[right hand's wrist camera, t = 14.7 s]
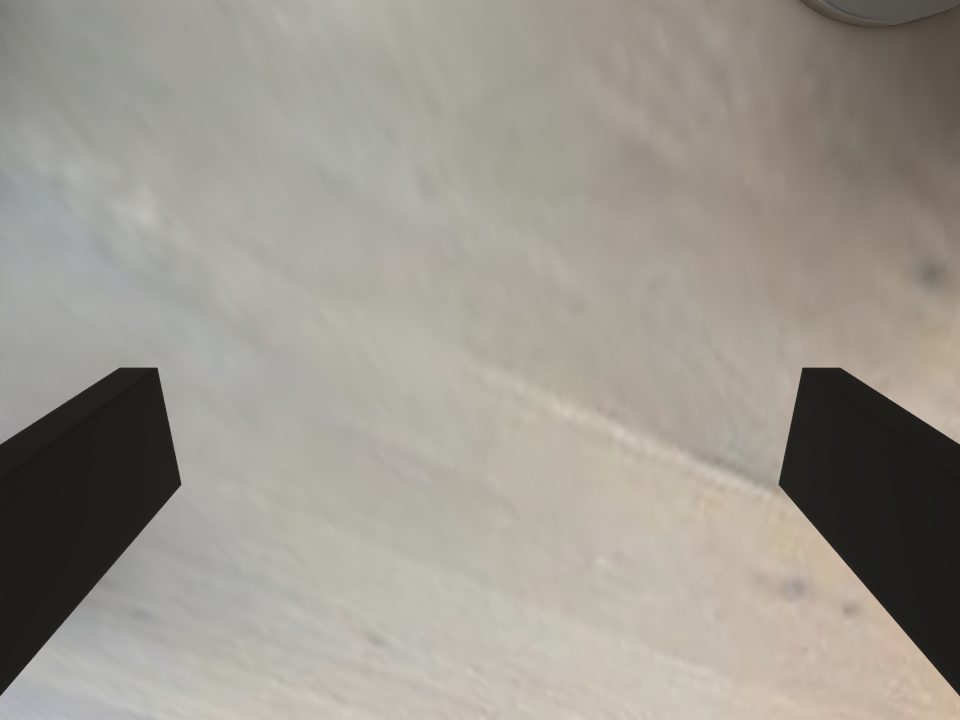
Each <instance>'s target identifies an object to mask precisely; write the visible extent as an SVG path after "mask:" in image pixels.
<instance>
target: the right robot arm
mask: <svg viewBox="0 0 960 720" xmlns="http://www.w3.org/2000/svg"><path fill="white" fill-rule="evenodd" d="M802 1H804V2H805V3H806V4H807V5H809V6H810V7H811V8H813V9H814V10H816V11H818V12H820V13H821V14H823V15H825V16H827V17H830V18H832V19H834V20H837V21H841V22H844V23H847V24H853V25H859V26H872V27H876V26H890V25H896V24H902V23H906V22H910V21H913V20H917V19H921V18H925V17H928V16H932V15H935V14H938V13H941V12H943V11H946V10H949V9H951V8H953V7H955V6H957V5H959V4H960V0H802ZM180 486H181V480H180V475H179V470H178V465H177V460H176V456H175V451H174V446H173V441H172V436H171V431H170V426H169V422H168V417H167V412H166V407H165V402H164V397H163V392H162V388H161V383H160V378H159V373H158V368H119V369H117V370H115V371H114V372H112V373H111V374H109V375H108V376H106V377H105V378H103V379H101V380H100V381H98V382H97V383H95V384H94V385H92V386H91V387H89V388H87V389H86V390H84V391H83V392H81V393H80V394H78V395H77V396H75V397H73V398H72V399H70V400H69V401H67V402H66V403H64V404H63V405H61V406H59V407H58V408H56V409H55V410H53V411H52V412H50V413H49V414H47V415H45V416H44V417H42V418H41V419H39V420H38V421H36V422H35V423H33V424H31V425H30V426H28V427H27V428H25V429H24V430H22V431H21V432H19V433H18V434H16V435H14V436H13V437H11V438H10V439H8V440H7V441H5V442H4V443H2V444H0V696H1V695H2V693H3V692H4V691H5V690H6V689H7V688H8V686H9V685H10V684H11V683H12V682H13V681H14V679H15V678H16V677H17V676H18V675H19V674H20V672H21V671H22V670H23V669H24V668H25V667H26V665H27V664H28V663H29V662H30V661H31V660H32V658H33V657H34V656H35V655H36V654H37V653H38V651H39V650H40V649H41V648H42V647H43V646H44V644H45V643H46V642H47V641H48V640H49V639H50V637H51V636H52V635H53V634H54V633H55V632H56V630H57V629H58V628H59V627H60V626H61V625H62V623H63V622H64V621H65V620H66V619H67V618H68V616H69V615H70V614H71V613H72V612H73V611H74V609H75V608H76V607H77V606H78V605H79V604H80V602H81V601H82V600H83V599H84V598H85V597H86V595H87V594H88V593H89V592H90V591H91V590H92V588H93V587H94V586H95V585H96V584H97V582H98V581H99V580H100V579H101V578H102V577H103V575H104V574H105V573H106V572H107V571H108V570H109V568H110V567H111V566H112V565H113V564H114V563H115V561H116V560H117V559H118V558H119V557H120V556H121V554H122V553H123V552H124V551H125V550H126V549H127V547H128V546H129V545H130V544H131V543H132V542H133V540H134V539H135V538H136V537H137V536H138V535H139V533H140V532H141V531H142V530H143V529H144V528H145V526H146V525H147V524H148V523H149V522H150V521H151V519H152V518H153V517H154V516H155V515H156V514H157V512H158V511H159V510H160V509H161V508H162V507H163V505H164V504H165V503H166V502H167V501H168V500H169V498H170V497H171V496H172V495H173V494H174V493H175V491H176V490H177V489H178V488H179V487H180ZM779 486H780V487H781V488H782V489H783V490H784V491H785V493H786V494H787V495H788V496H789V497H790V498H791V500H792V501H793V502H794V503H795V504H796V505H797V507H798V508H799V509H800V510H801V511H802V512H803V514H804V515H805V516H806V517H807V518H808V519H809V521H810V522H811V523H812V524H813V525H814V526H815V528H816V529H817V530H818V531H819V532H820V533H821V535H822V536H823V537H824V538H825V539H826V540H827V542H828V543H829V544H830V545H831V546H832V547H833V549H834V550H835V551H836V552H837V553H838V554H839V556H840V557H841V558H842V559H843V560H844V561H845V563H846V564H847V565H848V566H849V567H850V568H851V570H852V571H853V572H854V573H855V574H856V575H857V577H858V578H859V579H860V580H861V581H862V583H863V584H864V585H865V586H866V587H867V588H868V590H869V591H870V592H871V593H872V594H873V595H874V597H875V598H876V599H877V600H878V601H879V602H880V604H881V605H882V606H883V607H884V608H885V609H886V611H887V612H888V613H889V614H890V615H891V616H892V618H893V619H894V620H895V621H896V622H897V623H898V625H899V626H900V627H901V628H902V629H903V630H904V632H905V633H906V634H907V635H908V636H909V637H910V639H911V640H912V641H913V642H914V643H915V644H916V646H917V647H918V648H919V649H920V650H921V651H922V653H923V654H924V655H925V656H926V657H927V658H928V660H929V661H930V662H931V663H932V664H933V665H934V667H935V668H936V669H937V670H938V671H939V672H940V674H941V675H942V676H943V677H944V678H945V679H946V681H947V682H948V683H949V684H950V685H951V686H952V688H953V689H954V690H955V691H956V692H957V693H958V695H959V696H960V444H958V443H956V442H955V441H953V440H952V439H950V438H949V437H947V436H946V435H944V434H943V433H941V432H939V431H938V430H936V429H935V428H933V427H932V426H930V425H929V424H927V423H925V422H924V421H922V420H921V419H919V418H918V417H916V416H915V415H913V414H911V413H910V412H908V411H907V410H905V409H904V408H902V407H901V406H899V405H897V404H896V403H894V402H893V401H891V400H890V399H888V398H887V397H885V396H883V395H882V394H880V393H879V392H877V391H876V390H874V389H873V388H871V387H869V386H868V385H866V384H865V383H863V382H862V381H860V380H859V379H857V378H855V377H854V376H852V375H851V374H849V373H848V372H846V371H845V370H843V369H841V368H802V373H801V378H800V383H799V388H798V392H797V397H796V402H795V407H794V412H793V417H792V422H791V426H790V431H789V436H788V441H787V446H786V451H785V456H784V460H783V465H782V470H781V475H780V480H779Z"/></svg>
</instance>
